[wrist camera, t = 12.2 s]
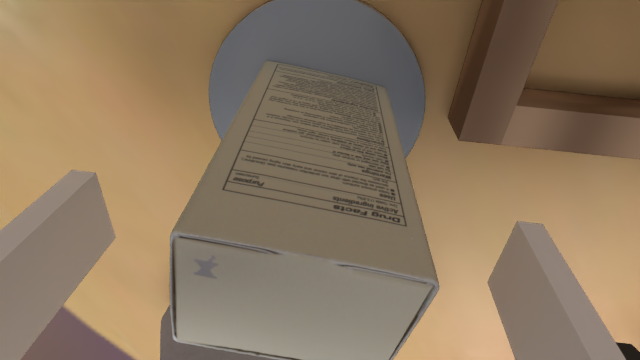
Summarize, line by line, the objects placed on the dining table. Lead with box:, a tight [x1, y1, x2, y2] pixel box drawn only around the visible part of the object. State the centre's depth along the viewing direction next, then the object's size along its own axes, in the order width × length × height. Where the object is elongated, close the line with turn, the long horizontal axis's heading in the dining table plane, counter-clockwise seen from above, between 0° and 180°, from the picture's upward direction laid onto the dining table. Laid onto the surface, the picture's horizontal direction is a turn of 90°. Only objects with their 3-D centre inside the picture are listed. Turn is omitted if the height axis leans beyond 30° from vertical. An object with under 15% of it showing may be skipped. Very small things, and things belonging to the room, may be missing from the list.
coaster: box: [209, 0, 425, 158], centre depth 20 cm, size 11×11×1 cm
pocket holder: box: [448, 0, 640, 159], centre depth 15 cm, size 12×12×2 cm
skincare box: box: [170, 61, 439, 360], centre depth 14 cm, size 6×4×12 cm
